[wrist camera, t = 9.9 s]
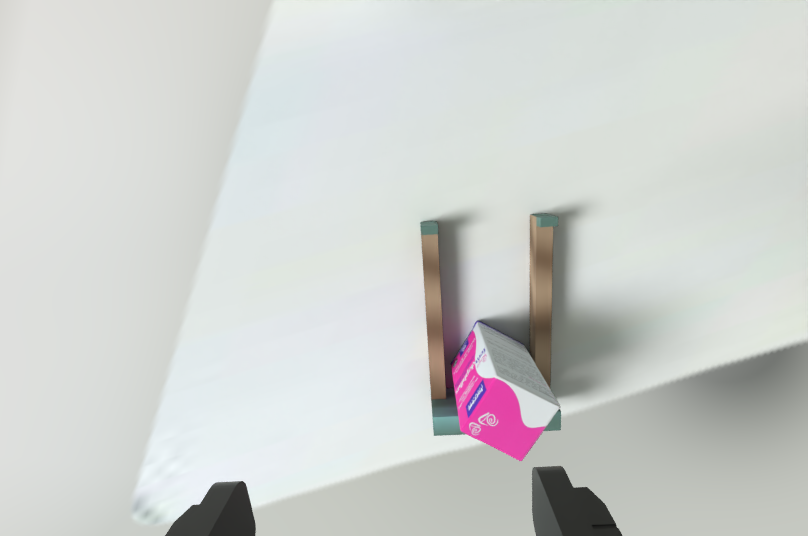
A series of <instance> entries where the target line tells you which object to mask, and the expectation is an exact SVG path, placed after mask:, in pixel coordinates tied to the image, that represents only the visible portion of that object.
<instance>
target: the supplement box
mask: <svg viewBox="0 0 808 536" xmlns="http://www.w3.org/2000/svg"><path fill="white" fill-rule="evenodd" d="M451 368H452V375H453V382H454V389H455V396H456V403H457V410H458V417H459V424H460V430H461V432H463V433H465V434H467V435H469V436H471V437H473V438H475V439H477V440H480V441H482V442H484V443H486V444H488V445H490V446H492V447H494V448H496V449H498V450H500V451H502V452H504V453H506V454H508V455H510V456H511V457H513V458H516V459H517V460H519V461H522V460H523V458H524V457H525V456H526V455H527V453H528V452H529V450H530V449H531V448H532V446H533V445H534V444H535V442H536V441H537V439H538V438H539V437H540V435H541V434H542V432H543V431H544V429H545V428H546V427H547V425H548V424H549V422H550V421H551V419H552V418H553V417H554V415H555V414H556V412H557V411H558V410H559V408H560V405H559V403H558V401H557V400H556V398H555V396H554V395H553V393H552V391H551V390H550V388H549V386H548V385H547V383H546V381H545V380H544V378H543V376H542V374H541V373H540V371H539V369H538V368H537V366H536V364H535V363H534V361H533V359H532V357H531V356H530V354H529V352H528V351H527V349H526V347H525V346H524V344H523V343H521V342H519V341H517V340H515V339H513V338H511V337H509V336H507V335H505V334H503V333H501V332H500V331H498V330H496V329H494V328H492V327H490V326H488V325H486V324H484V323H482V322H480V321H476V323H475V325H474V326H473V328H472V330H471V332H470V334H469V336H468V337H467V339H466V340H465V342H464V344H463V345H462V347H461V349H460V350H459V352H458V353H457V355H456V356H455V358H454V359H453V361H452V362H451Z"/></svg>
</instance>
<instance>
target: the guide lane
mask: <svg viewBox="0 0 808 536" xmlns="http://www.w3.org/2000/svg"><path fill="white" fill-rule="evenodd" d="M553 226H558V217H556V216H553V215H549V214H533V215H530V356H531V357H532V359H533V361H534V363H535V364H536V366H537V368H538V369H539V371H540V373H541V374H542V376H543V378H544V380H545V381H546V383H547V385H548V386H549V388H550V373H551V317H552V260H553ZM421 238H422V254H423V271H424V287H425V303H426V319H427V336H428V352H429V368H430V384H431V401H432V415H433V429H434V436H437V435H461V434H465V433H463V432H461V430H460V424H459V417H458V410H457V403H456V396H455V389H454V388H446V386H445V366H444V347H443V327H442V308H441V289H440V269H439V250H438V224H437V222H436V221H430V222H421ZM560 428H561V411H560V409H559V410H558V411H557V412H556V414H555V415H554V417H553V418H552V419H551V421H550V422H549V424H548V425H547V427H546V428H545V429H544V431H552V430H561V429H560Z"/></svg>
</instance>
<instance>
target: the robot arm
mask: <svg viewBox="0 0 808 536" xmlns="http://www.w3.org/2000/svg"><path fill="white" fill-rule="evenodd" d="M532 513H533V521H534V527H535V532H536V536H622V534H621V532H620V531H619V529H618V528H617V527H616V523H615V521H614V520H613V518H612V516H611V514H610V512H609V511H608V509H607V507H606V505H605V504H604V503H603V502H602V501H601V500H600V499H599V498H598V497H597V496H596V495H595V494H594V493H593V492H592V491H590V489H588V488H587V487H580V488H573V486H572V484H571V482H570V480H569V478H568V476H567V474H566V472H565V470H564V468H563V467H561V466H552V467H534V468H533V471H532ZM255 530H256V528H255V520H254V516H253V512H252V508H251V503H250V499H249V495H248V491H247V487H246V484H245V483H244V482H243V481H238V482H218V483H215V484H213V485H212V486H211V488H210V489H209V491H208V492H207V494H206V496H205V497H204V499H203V500H202V502H201V504H200V505H192V506H191V507H190V508H189V509H188V510H187V511H186V512H185V513H184V514H183V515H182V516H180V517H179V518H178V519H177V520H176V521H175V522H174V523H173V525H172V526H171V528H170V529H169V531H168V532H167V534H166V535H165V536H255Z"/></svg>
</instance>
